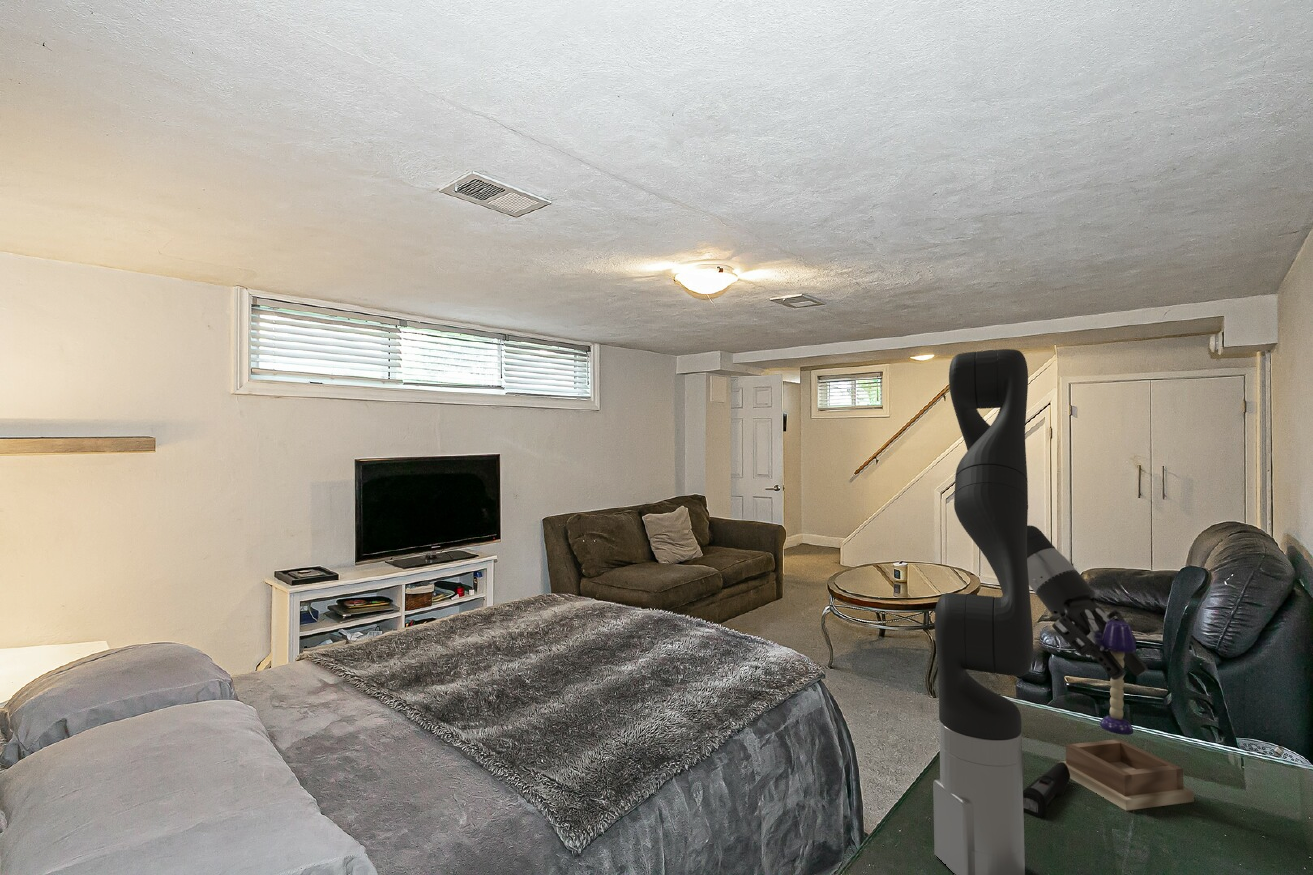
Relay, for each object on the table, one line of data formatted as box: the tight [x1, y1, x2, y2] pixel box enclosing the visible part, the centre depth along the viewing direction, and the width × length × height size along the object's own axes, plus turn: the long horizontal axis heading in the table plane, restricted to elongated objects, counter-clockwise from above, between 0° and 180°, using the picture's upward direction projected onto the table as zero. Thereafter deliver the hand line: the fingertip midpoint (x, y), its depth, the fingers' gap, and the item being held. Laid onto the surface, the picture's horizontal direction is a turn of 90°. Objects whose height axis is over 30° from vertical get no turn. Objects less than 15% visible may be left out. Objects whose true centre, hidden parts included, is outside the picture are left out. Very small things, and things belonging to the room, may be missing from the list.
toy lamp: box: [1099, 620, 1137, 736], centre depth 100 cm, size 5×5×17 cm
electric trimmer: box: [1023, 761, 1071, 819], centre depth 96 cm, size 4×16×3 cm, turn 132°
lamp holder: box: [1057, 738, 1195, 811], centre depth 99 cm, size 12×12×4 cm
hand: (1131, 674), depth 98 cm, fingers closed on toy lamp, 4 cm apart
